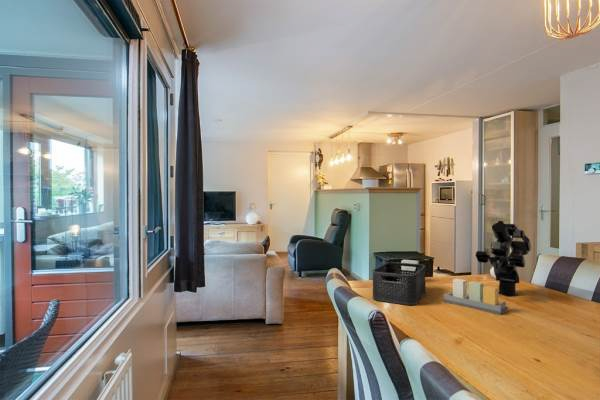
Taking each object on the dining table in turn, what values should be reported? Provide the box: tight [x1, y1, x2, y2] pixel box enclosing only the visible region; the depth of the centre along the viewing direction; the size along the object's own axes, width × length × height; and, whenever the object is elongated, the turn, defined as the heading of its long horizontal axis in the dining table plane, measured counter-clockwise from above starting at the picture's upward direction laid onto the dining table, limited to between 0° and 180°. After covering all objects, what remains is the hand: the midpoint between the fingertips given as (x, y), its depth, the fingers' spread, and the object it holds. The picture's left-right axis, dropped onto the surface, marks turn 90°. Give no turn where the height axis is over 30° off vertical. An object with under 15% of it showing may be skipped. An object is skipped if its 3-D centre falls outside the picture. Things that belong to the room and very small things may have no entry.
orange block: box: [483, 285, 499, 306], centre depth 140 cm, size 4×4×8 cm
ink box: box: [400, 259, 420, 275], centre depth 187 cm, size 9×5×12 cm, turn 62°
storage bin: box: [372, 261, 426, 306], centre depth 162 cm, size 29×19×13 cm
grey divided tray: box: [443, 291, 509, 316], centre depth 146 cm, size 8×23×3 cm, turn 41°
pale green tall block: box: [468, 280, 484, 301], centre depth 147 cm, size 4×4×8 cm
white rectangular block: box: [452, 277, 468, 298], centre depth 152 cm, size 4×4×8 cm
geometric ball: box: [489, 266, 496, 280], centre depth 192 cm, size 8×8×8 cm
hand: (495, 274), depth 150 cm, fingers closed
